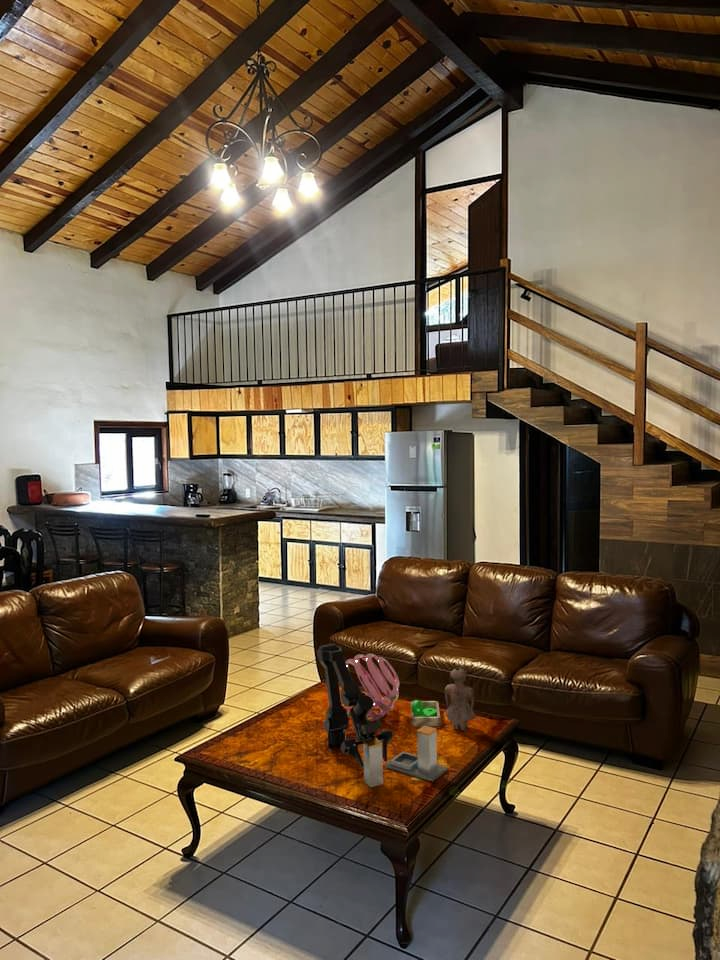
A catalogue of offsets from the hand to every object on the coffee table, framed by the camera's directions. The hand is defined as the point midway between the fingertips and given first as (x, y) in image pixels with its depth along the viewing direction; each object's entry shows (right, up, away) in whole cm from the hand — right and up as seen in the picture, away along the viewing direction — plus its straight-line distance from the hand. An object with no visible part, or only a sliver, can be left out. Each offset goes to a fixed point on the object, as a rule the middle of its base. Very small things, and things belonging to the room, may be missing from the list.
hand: (374, 764), depth 246 cm
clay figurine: (+36, -3, +44) cm, 57 cm away
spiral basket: (0, -3, +60) cm, 60 cm away
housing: (+15, -6, +11) cm, 20 cm away
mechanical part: (+23, -3, +57) cm, 62 cm away
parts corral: (+23, -2, +56) cm, 61 cm away
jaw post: (0, -7, +2) cm, 7 cm away
